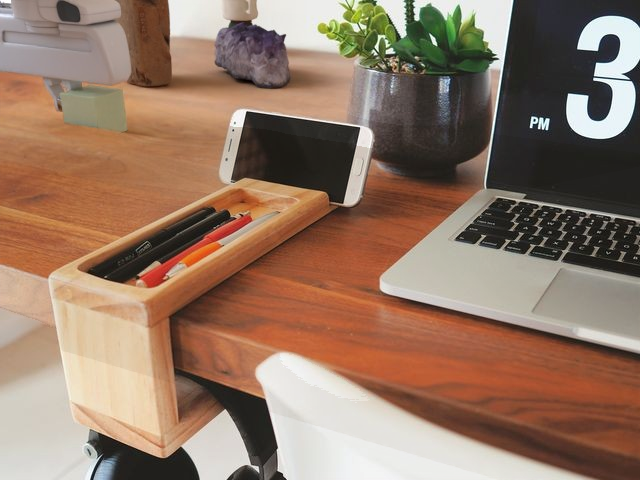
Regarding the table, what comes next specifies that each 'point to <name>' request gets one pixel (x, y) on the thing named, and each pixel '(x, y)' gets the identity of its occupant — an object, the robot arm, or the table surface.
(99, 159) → the table surface
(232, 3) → the character mug
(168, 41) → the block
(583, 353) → the table surface
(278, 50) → the geode
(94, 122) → the cube
